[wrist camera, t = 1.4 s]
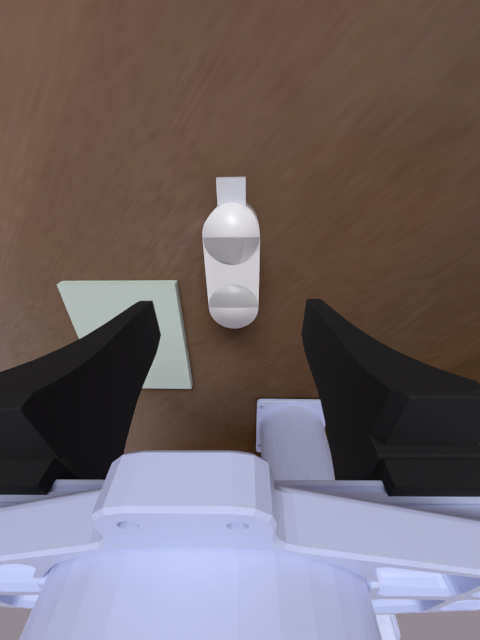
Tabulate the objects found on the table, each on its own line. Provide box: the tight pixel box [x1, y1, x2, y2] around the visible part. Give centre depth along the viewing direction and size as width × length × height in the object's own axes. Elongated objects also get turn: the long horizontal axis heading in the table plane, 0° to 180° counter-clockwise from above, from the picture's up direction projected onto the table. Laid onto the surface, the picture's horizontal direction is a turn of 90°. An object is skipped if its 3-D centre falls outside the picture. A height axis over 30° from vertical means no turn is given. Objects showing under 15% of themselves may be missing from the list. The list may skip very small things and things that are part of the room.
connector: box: [202, 177, 260, 328], centre depth 19 cm, size 10×4×4 cm, turn 1°
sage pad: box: [57, 280, 193, 389], centre depth 25 cm, size 12×10×1 cm
